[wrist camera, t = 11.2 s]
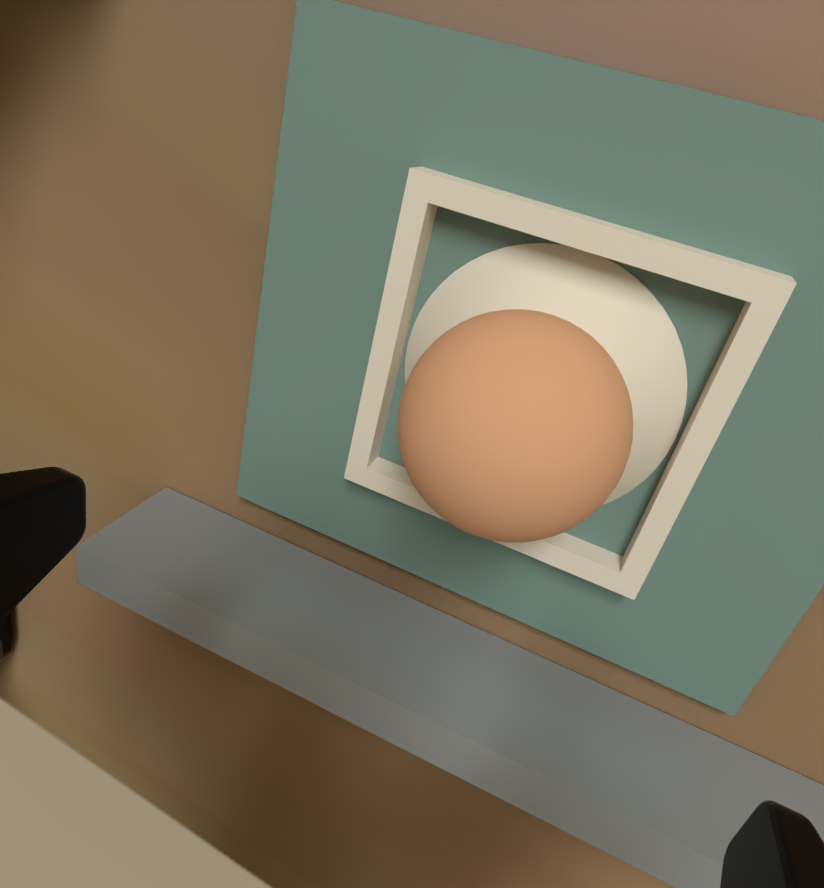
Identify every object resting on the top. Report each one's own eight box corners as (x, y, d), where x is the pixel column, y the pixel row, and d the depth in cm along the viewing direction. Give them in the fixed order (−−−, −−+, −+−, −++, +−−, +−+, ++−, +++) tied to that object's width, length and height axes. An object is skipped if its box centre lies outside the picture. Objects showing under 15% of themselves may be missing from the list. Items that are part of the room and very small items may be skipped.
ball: (420, 440, 18) (339, 530, 14) (467, 261, 16) (388, 305, 12) (596, 508, 17) (567, 628, 13) (675, 328, 15) (670, 402, 11)
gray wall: (164, 521, 24) (77, 583, 21) (166, 486, 24) (76, 545, 20) (869, 850, 19) (907, 1006, 16) (899, 819, 18) (946, 975, 15)
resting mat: (243, 490, 22) (221, 506, 21) (306, -5, 16) (279, -16, 15) (733, 706, 19) (735, 738, 18) (1084, 185, 12) (1119, 190, 11)
